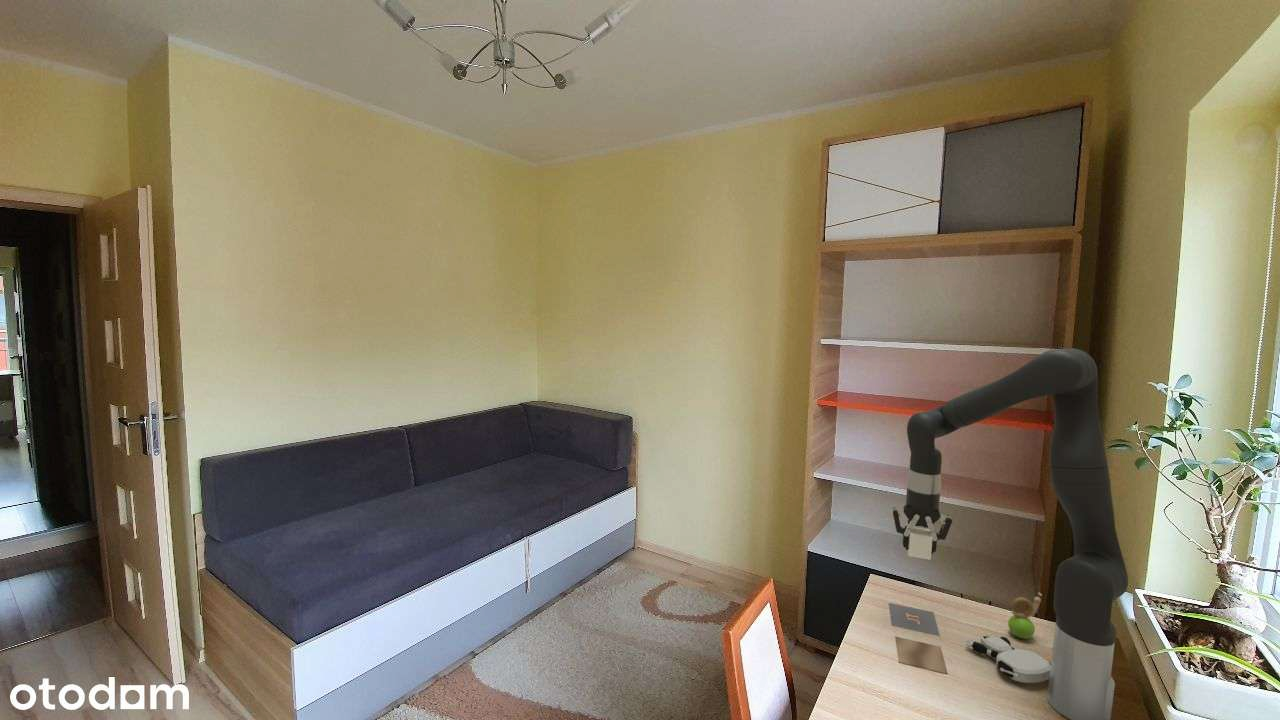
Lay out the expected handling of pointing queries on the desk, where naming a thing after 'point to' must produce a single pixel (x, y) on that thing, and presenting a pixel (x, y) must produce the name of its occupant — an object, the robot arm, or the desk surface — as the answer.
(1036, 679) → the robot toy
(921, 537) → the white block
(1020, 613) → the snail figurine
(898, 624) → the mat
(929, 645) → the walnut board
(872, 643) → the desk surface
